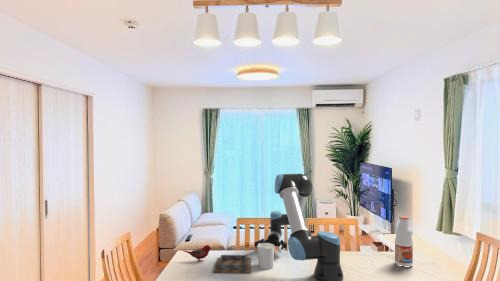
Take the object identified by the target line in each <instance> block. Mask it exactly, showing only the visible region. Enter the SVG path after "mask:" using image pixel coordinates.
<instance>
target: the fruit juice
mask: <svg viewBox="0 0 500 281" xmlns="http://www.w3.org/2000/svg"><path fill="white" fill-rule="evenodd" d="M409 217H410V216H407V215H400V216H399V222H398V225H397V226H396V227H395V238H394V264H395V263H396V264H398V265H402V266H411V265H412V264H413V261H414V260H413V259H414V258H413V257H414V256H413V253H414V252H413V251H414V248H413V247H414V246H413V244H414V241H413V238H412V237H413V234H414V233H413V230H412V228H411V226H410V223H409ZM396 264H395V265H396ZM398 265H397V266H398ZM413 265H414V264H413ZM413 265H412V266H413Z"/></svg>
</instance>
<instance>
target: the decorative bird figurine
mask: <svg viewBox="0 0 500 281" xmlns="http://www.w3.org/2000/svg"><path fill="white" fill-rule="evenodd" d="M210 250H212V248H211V247H210V245H209V244H207V245H204V246H202V247H201V248H198V249H193V250H191V251H188V250H182V252H185V253H187V254H189V255H190V256H191V257H193V258H194V259H197V260H196V261H197V262H202V263H203V259H205V258H206V257H207V256H208V255H209V252H210Z"/></svg>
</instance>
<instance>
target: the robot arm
mask: <svg viewBox="0 0 500 281" xmlns="http://www.w3.org/2000/svg"><path fill="white" fill-rule="evenodd" d="M274 192H275V194H277V195H279V197H280V198H281V199H282V200H283V205H284V208H285V212H286V213H282V211H279V210H277V211H276V210H274V211H273V210H272V211H271V212H270V215H269V216H270V218H269V221H270V222H269V224H270V225H269V226H270V228H269V231H270V232H269V234H268V237H267V239H264V238H261V239H259V240H257V241H255V242H254V247H256V252H258V247H257V246H258V244H261V243H271V244H273V245H274V246H275V247H278V252H279V254H281V252H282V251H284V249H288V251H289V254H290V256H291V258H292V259H294V260H295V261H309V260H316V261H317V262H316V265H315V267H314V271H313V276H314V279H316V280H317V281H343V280H344V272H343V269H342V266H341V239H340V236H339V235H338V234H335V233H333V232H328V231H318V232H317V233H316V235H313V234H312V231H311V230H309V229H308V228H307V224H306V221H305V217H304V215H303V210H304V208H305V205H306V202H307V201H308V198H309V197H310V196H311V195H312V192H313V183H312V181H311V179H310V178H309V176H308V175H306V174H303V173H282V174H277V175H276V177H275V180H274ZM282 226H289V227H290V228H289V229H290V232H291V233H290V235H289V238H288V240H287V243H286V242H285V241H284V240H283V239H281V237H282V236H283V232H282Z"/></svg>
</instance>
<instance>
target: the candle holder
mask: <svg viewBox="0 0 500 281" xmlns="http://www.w3.org/2000/svg"><path fill="white" fill-rule="evenodd" d="M257 247H258V251H257V259H258V267H259V269H261V270H271V269H273V268H274V262H275V247H276V246H274V245H273V244H271V243H261V244H258V246H257Z"/></svg>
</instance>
